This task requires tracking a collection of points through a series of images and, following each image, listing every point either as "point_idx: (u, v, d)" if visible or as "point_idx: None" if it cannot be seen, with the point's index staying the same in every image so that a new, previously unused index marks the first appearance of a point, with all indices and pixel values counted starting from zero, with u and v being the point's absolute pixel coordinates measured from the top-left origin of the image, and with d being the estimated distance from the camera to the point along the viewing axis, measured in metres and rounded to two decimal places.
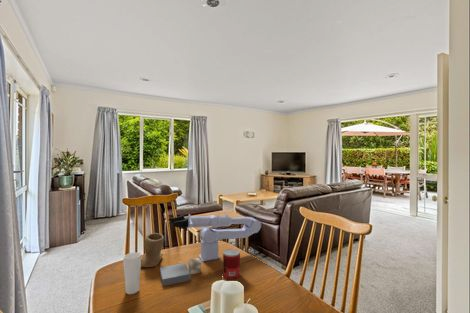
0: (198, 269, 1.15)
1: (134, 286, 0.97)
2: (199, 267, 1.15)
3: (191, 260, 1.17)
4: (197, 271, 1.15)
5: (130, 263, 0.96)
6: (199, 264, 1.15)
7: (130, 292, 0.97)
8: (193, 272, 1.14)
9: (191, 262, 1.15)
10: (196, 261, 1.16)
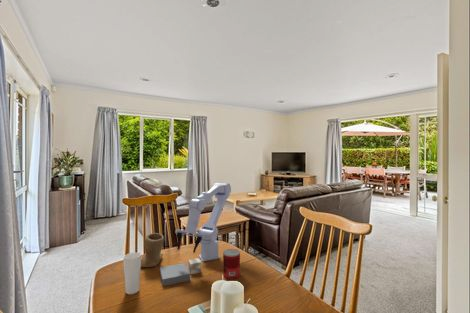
0: (198, 269, 1.15)
1: (134, 286, 0.97)
2: (199, 267, 1.15)
3: (191, 260, 1.17)
4: (197, 271, 1.15)
5: (130, 263, 0.96)
6: (199, 264, 1.15)
7: (130, 292, 0.97)
8: (193, 272, 1.14)
9: (191, 262, 1.15)
10: (196, 261, 1.15)
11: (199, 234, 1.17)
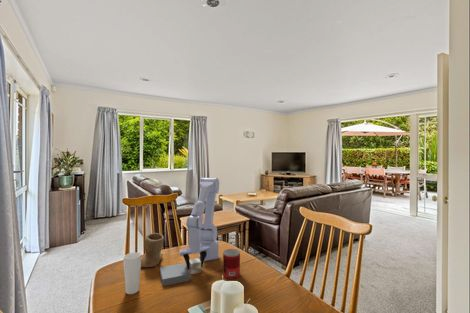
0: (198, 269, 1.15)
1: (134, 286, 0.97)
2: (199, 267, 1.15)
3: (191, 260, 1.17)
4: (197, 271, 1.15)
5: (130, 263, 0.96)
6: (199, 264, 1.15)
7: (130, 292, 0.97)
8: (193, 272, 1.14)
9: (191, 262, 1.15)
10: (196, 261, 1.15)
11: (204, 249, 1.17)
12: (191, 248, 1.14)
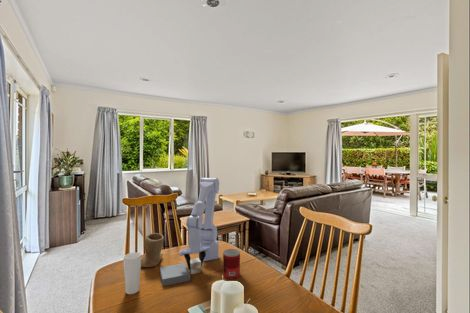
0: (198, 269, 1.15)
1: (134, 286, 0.97)
2: (199, 267, 1.15)
3: (191, 260, 1.17)
4: (197, 271, 1.15)
5: (130, 263, 0.96)
6: (199, 264, 1.15)
7: (130, 292, 0.97)
8: (193, 272, 1.14)
9: (191, 262, 1.15)
10: (196, 261, 1.15)
11: (204, 249, 1.17)
12: (191, 248, 1.14)
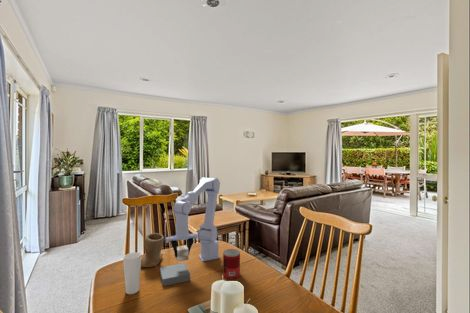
0: (185, 256, 1.11)
1: (134, 286, 0.97)
2: (186, 254, 1.11)
3: (178, 247, 1.13)
4: (184, 258, 1.11)
5: (130, 263, 0.96)
6: (186, 251, 1.11)
7: (130, 292, 0.97)
8: (180, 259, 1.10)
9: (178, 249, 1.11)
10: (183, 248, 1.12)
11: (192, 236, 1.13)
12: (178, 235, 1.10)
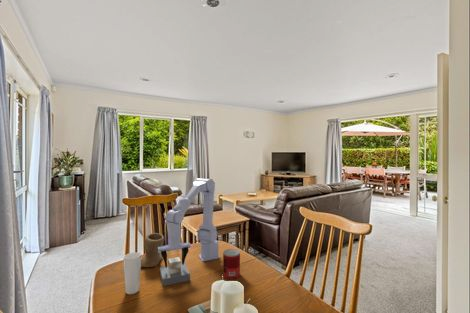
0: (178, 269, 1.09)
1: (134, 286, 0.97)
2: (179, 266, 1.09)
3: (171, 259, 1.11)
4: (177, 270, 1.09)
5: (130, 263, 0.96)
6: (179, 263, 1.09)
7: (130, 292, 0.97)
8: (172, 271, 1.08)
9: (170, 261, 1.09)
10: (175, 260, 1.10)
11: (185, 246, 1.11)
12: (170, 244, 1.08)
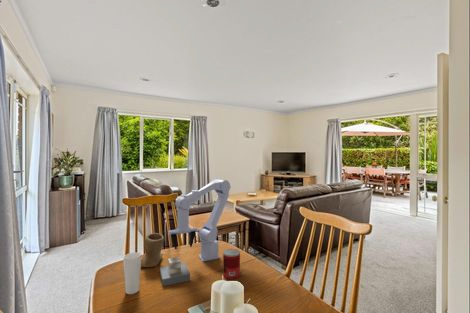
0: (178, 269, 1.09)
1: (134, 286, 0.97)
2: (179, 266, 1.09)
3: (171, 259, 1.11)
4: (177, 270, 1.09)
5: (130, 263, 0.96)
6: (179, 263, 1.09)
7: (130, 292, 0.97)
8: (172, 271, 1.08)
9: (170, 261, 1.09)
10: (175, 260, 1.10)
11: (193, 230, 1.23)
12: (179, 228, 1.20)
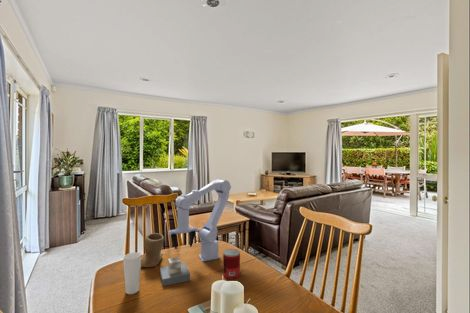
0: (178, 269, 1.09)
1: (134, 286, 0.97)
2: (179, 266, 1.09)
3: (171, 259, 1.11)
4: (177, 270, 1.09)
5: (130, 263, 0.96)
6: (179, 263, 1.09)
7: (130, 292, 0.97)
8: (172, 271, 1.08)
9: (170, 261, 1.09)
10: (175, 260, 1.10)
11: (193, 230, 1.23)
12: (179, 228, 1.20)
